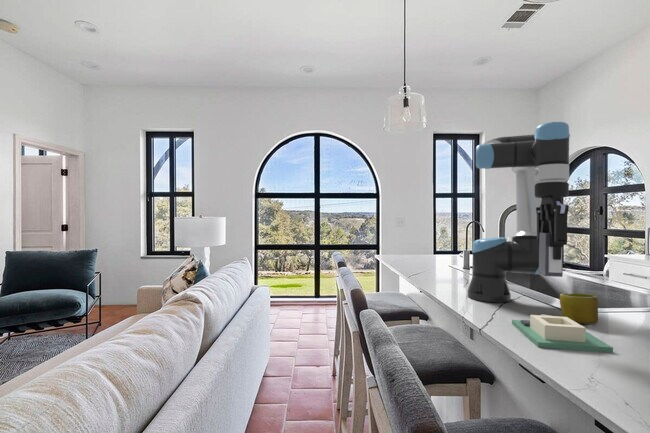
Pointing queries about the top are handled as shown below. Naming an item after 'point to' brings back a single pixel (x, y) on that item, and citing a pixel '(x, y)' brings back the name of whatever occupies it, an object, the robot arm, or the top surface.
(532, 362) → the top surface
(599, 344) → the board
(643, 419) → the top surface
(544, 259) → the plug
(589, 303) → the mug
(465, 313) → the top surface
